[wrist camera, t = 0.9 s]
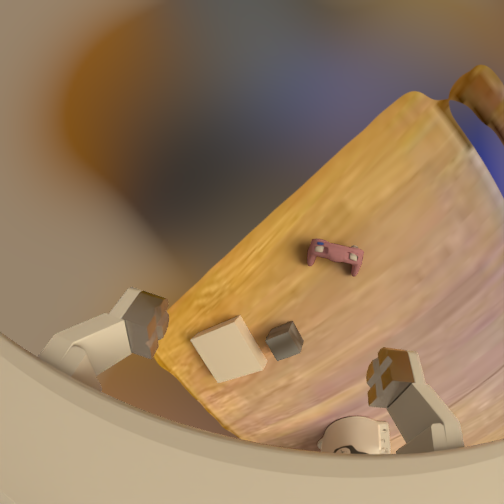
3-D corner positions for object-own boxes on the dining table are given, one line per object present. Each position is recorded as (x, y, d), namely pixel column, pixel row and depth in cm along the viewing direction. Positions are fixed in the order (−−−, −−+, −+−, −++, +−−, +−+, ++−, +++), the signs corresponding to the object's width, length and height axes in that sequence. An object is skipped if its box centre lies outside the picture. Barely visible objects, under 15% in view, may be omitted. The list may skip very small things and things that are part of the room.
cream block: (267, 360, 60) (263, 369, 57) (224, 373, 64) (218, 383, 61) (240, 314, 60) (234, 322, 56) (198, 332, 64) (190, 339, 60)
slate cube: (303, 340, 57) (300, 352, 52) (282, 348, 58) (277, 361, 54) (292, 320, 57) (288, 331, 52) (271, 329, 58) (265, 340, 54)
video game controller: (361, 255, 52) (368, 244, 45) (356, 278, 51) (363, 270, 44) (310, 243, 54) (311, 231, 48) (305, 266, 53) (304, 257, 47)
